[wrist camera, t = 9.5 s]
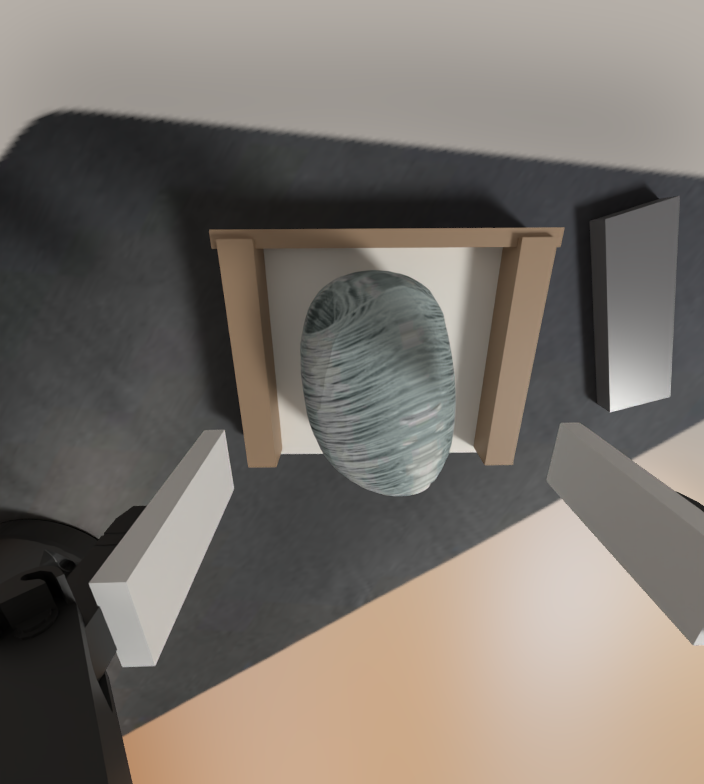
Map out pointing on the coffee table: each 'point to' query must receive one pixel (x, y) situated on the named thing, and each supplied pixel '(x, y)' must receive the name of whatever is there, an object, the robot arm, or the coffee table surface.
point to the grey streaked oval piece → (379, 380)
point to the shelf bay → (404, 256)
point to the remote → (634, 302)
